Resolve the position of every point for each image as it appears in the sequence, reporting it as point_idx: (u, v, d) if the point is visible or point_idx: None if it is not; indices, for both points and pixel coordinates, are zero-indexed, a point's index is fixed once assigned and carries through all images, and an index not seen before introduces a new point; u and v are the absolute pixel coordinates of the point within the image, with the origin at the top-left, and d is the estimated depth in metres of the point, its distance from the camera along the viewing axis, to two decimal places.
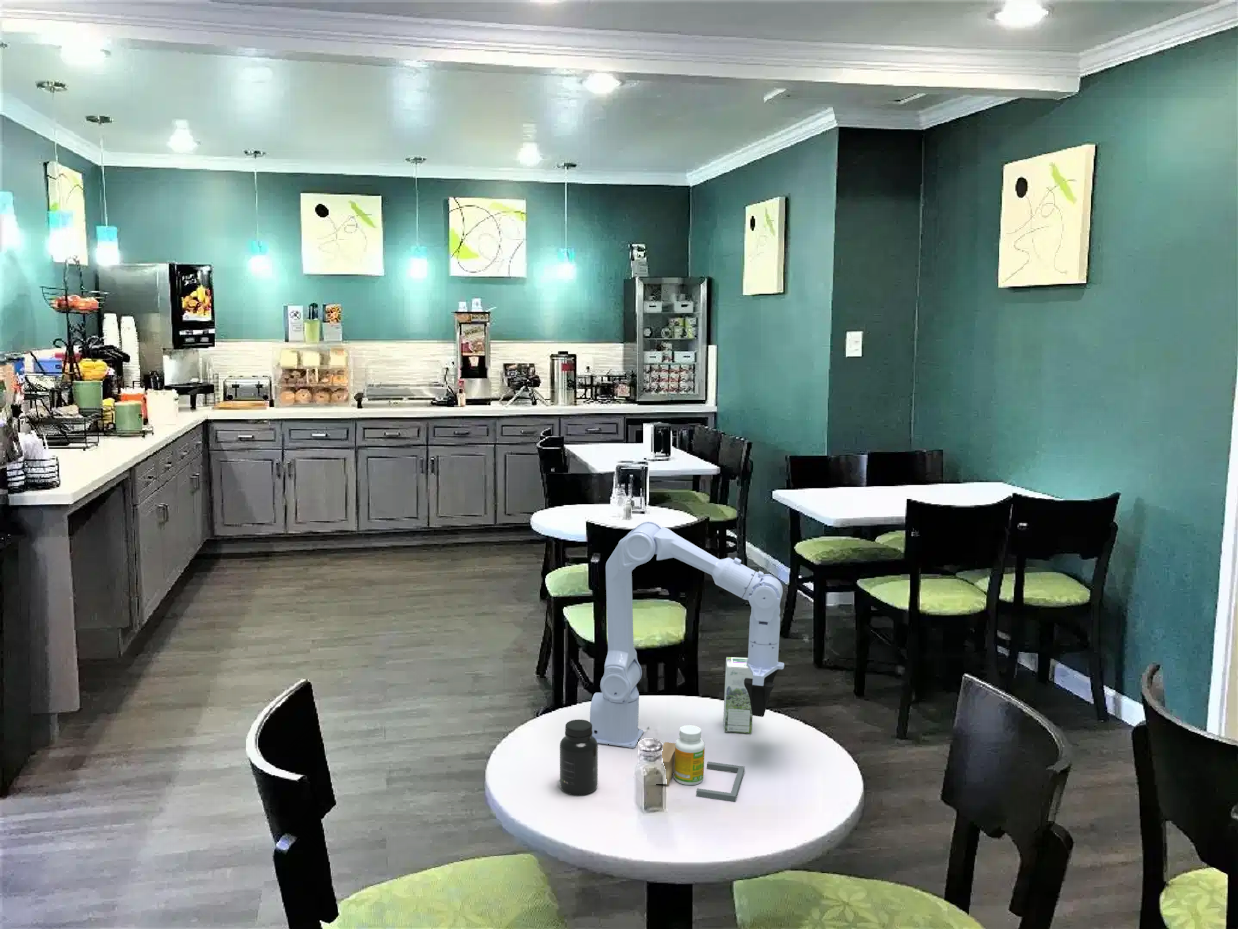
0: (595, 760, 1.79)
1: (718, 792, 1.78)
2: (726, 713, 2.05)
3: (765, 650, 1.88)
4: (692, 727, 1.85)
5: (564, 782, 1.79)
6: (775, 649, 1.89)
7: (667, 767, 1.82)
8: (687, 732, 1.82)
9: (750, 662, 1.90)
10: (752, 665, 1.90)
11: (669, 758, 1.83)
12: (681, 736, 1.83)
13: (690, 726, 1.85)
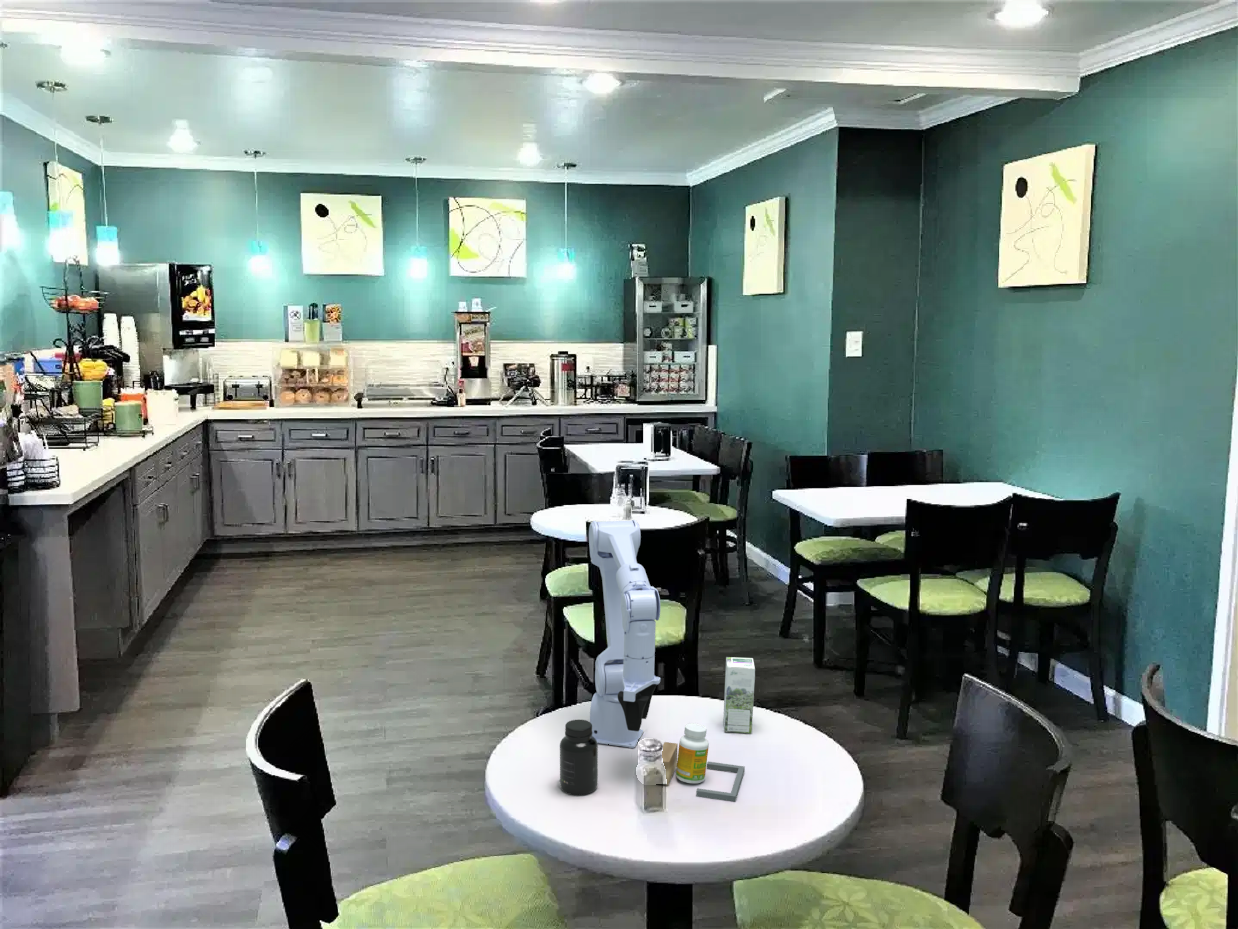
0: (595, 760, 1.79)
1: (718, 792, 1.78)
2: (726, 713, 2.05)
3: (639, 664, 1.81)
4: (698, 725, 1.85)
5: (564, 782, 1.79)
6: (650, 663, 1.82)
7: (667, 767, 1.82)
8: (691, 729, 1.83)
9: (624, 677, 1.83)
10: (626, 680, 1.83)
11: (669, 758, 1.83)
12: (685, 732, 1.83)
13: (696, 725, 1.85)
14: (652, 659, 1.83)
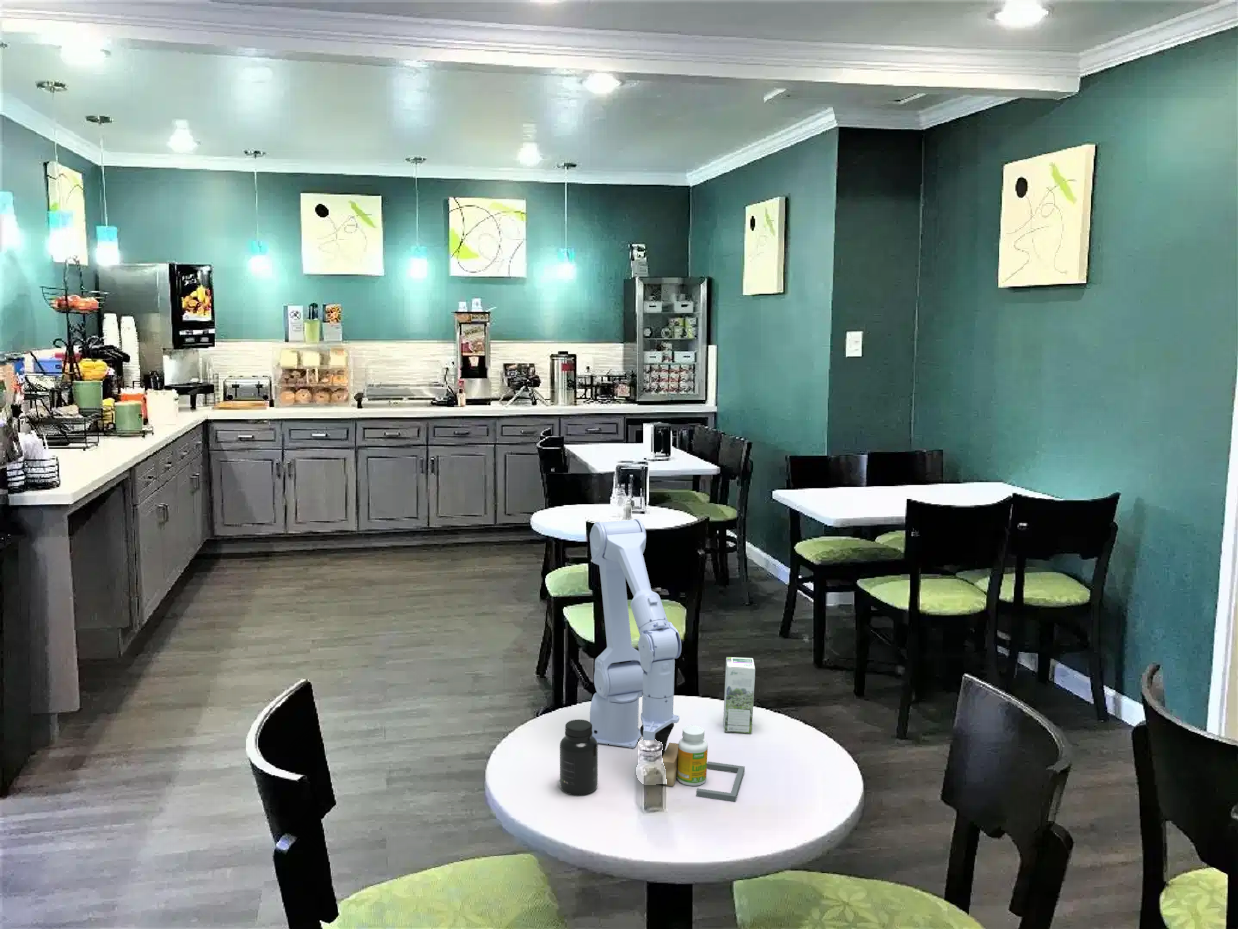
0: (595, 760, 1.79)
1: (718, 792, 1.78)
2: (726, 713, 2.05)
3: (658, 704, 1.82)
4: (696, 728, 1.84)
5: (564, 782, 1.79)
6: (669, 702, 1.82)
7: (672, 768, 1.81)
8: (688, 732, 1.82)
9: (643, 715, 1.84)
10: (645, 719, 1.83)
11: (674, 759, 1.83)
12: (683, 735, 1.83)
13: (695, 727, 1.85)
14: (671, 698, 1.83)
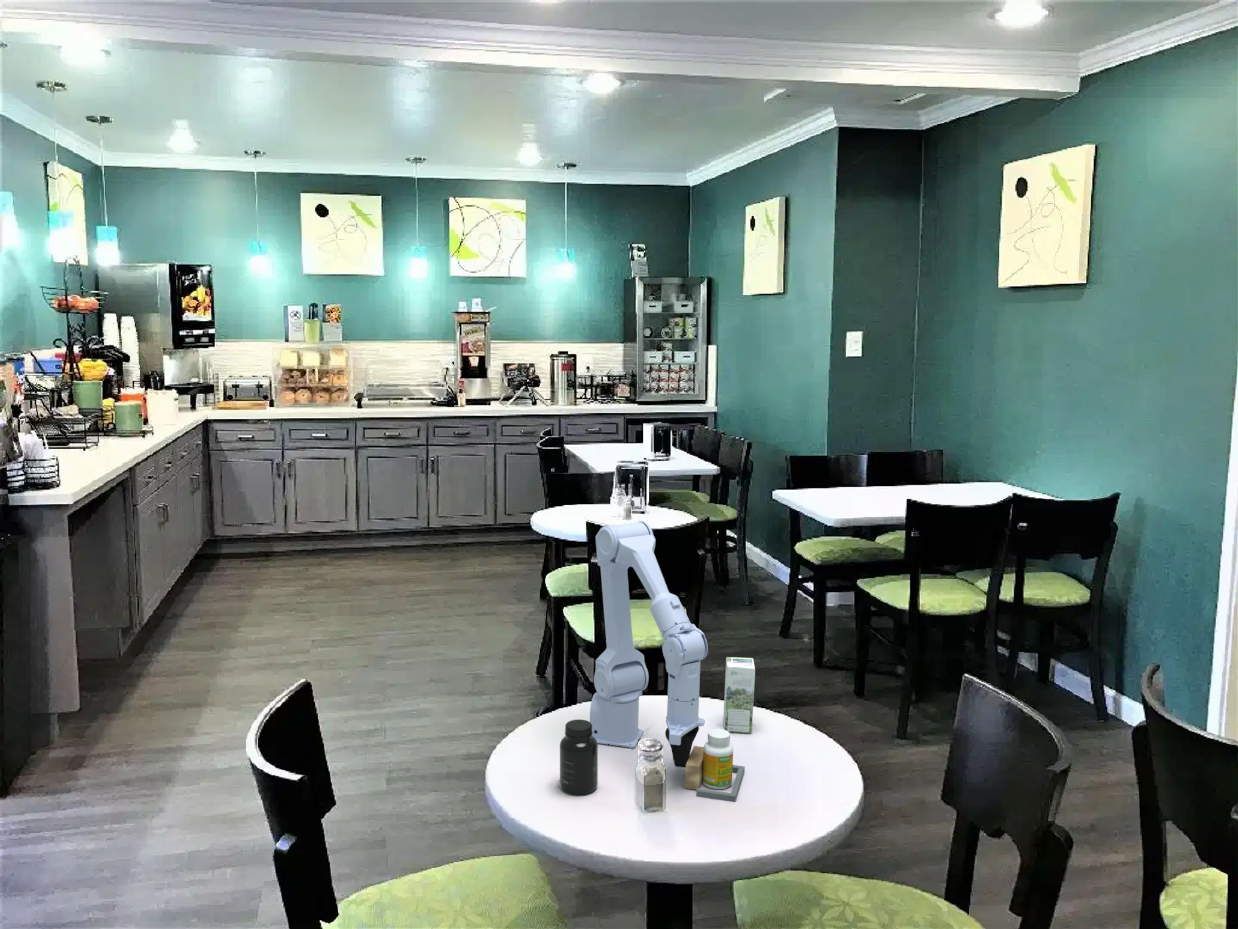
0: (595, 760, 1.79)
1: (718, 792, 1.78)
2: (726, 713, 2.05)
3: (683, 707, 1.80)
4: (721, 731, 1.83)
5: (564, 782, 1.79)
6: (695, 705, 1.81)
7: (697, 771, 1.80)
8: (714, 735, 1.81)
9: (669, 719, 1.82)
10: (671, 722, 1.82)
11: (699, 762, 1.82)
12: (708, 739, 1.82)
13: (720, 730, 1.84)
14: (697, 701, 1.82)
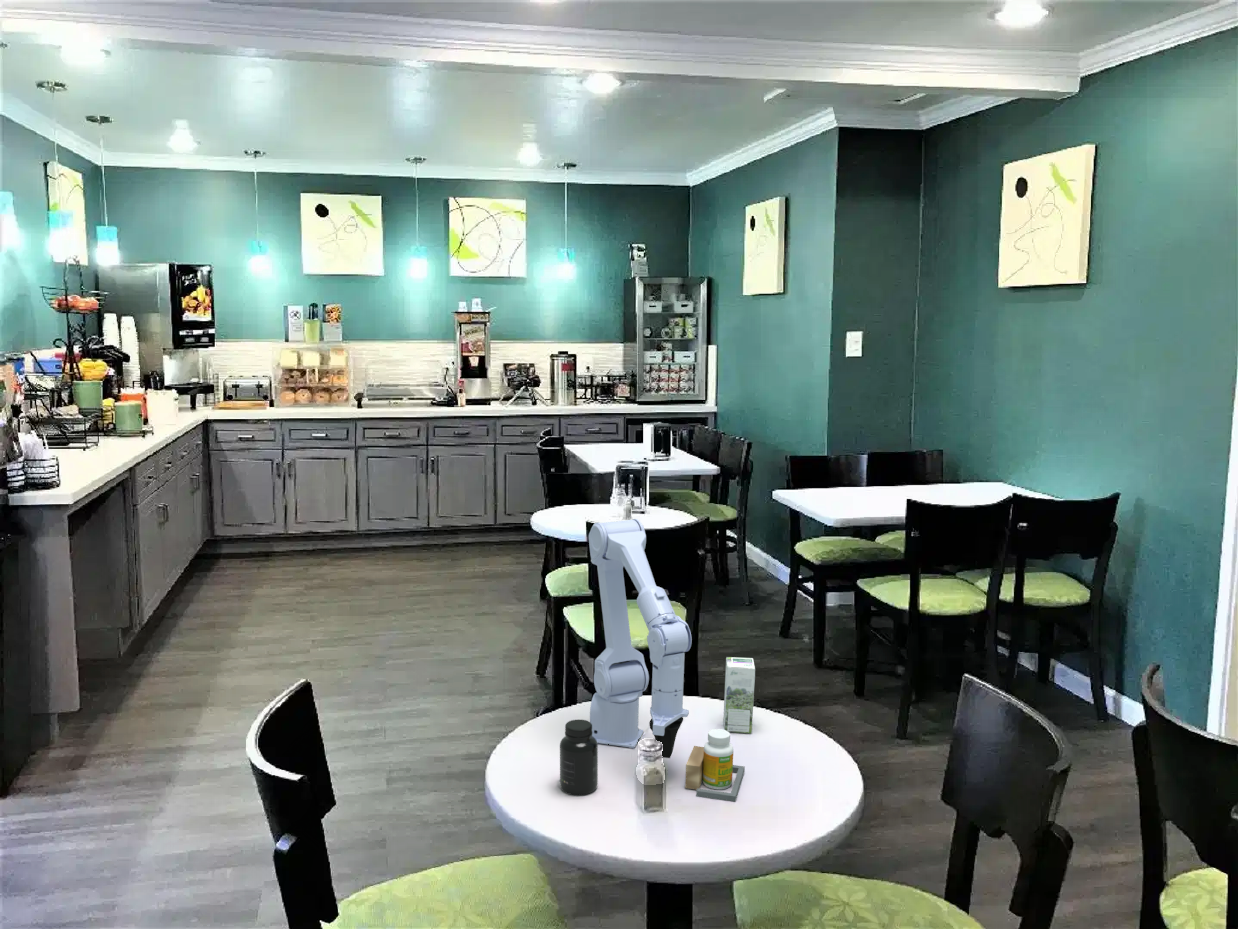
0: (595, 760, 1.79)
1: (718, 792, 1.78)
2: (726, 713, 2.05)
3: (667, 698, 1.81)
4: (722, 731, 1.83)
5: (564, 782, 1.79)
6: (679, 696, 1.82)
7: (698, 771, 1.80)
8: (714, 736, 1.81)
9: (653, 709, 1.83)
10: (655, 713, 1.82)
11: (699, 762, 1.82)
12: (708, 739, 1.82)
13: (720, 730, 1.84)
14: (681, 692, 1.82)
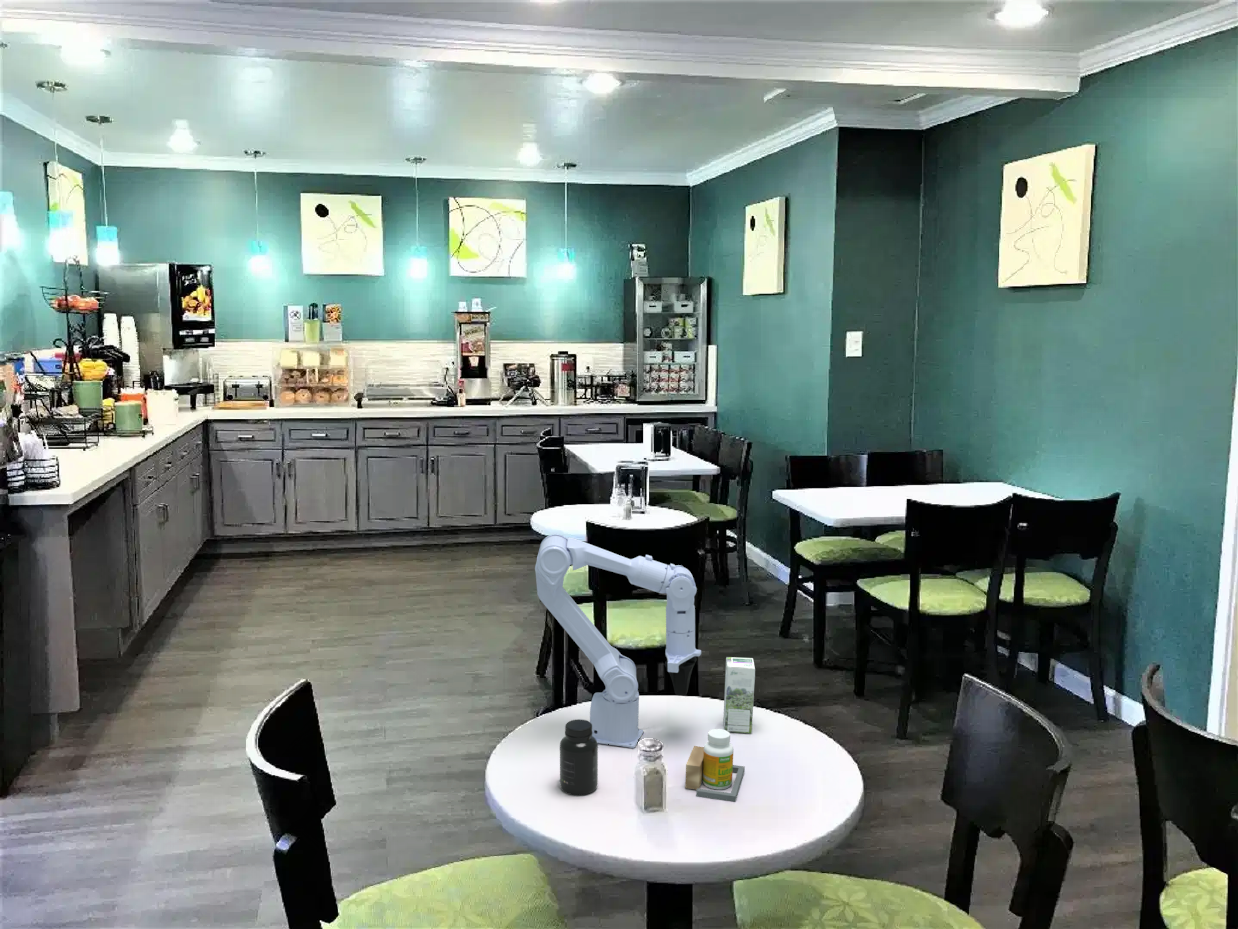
0: (595, 760, 1.79)
1: (718, 792, 1.78)
2: (726, 713, 2.05)
3: (680, 638, 1.96)
4: (722, 731, 1.83)
5: (564, 782, 1.79)
6: (691, 637, 1.96)
7: (698, 771, 1.80)
8: (714, 736, 1.81)
9: (668, 650, 1.98)
10: (669, 653, 1.97)
11: (699, 762, 1.82)
12: (708, 739, 1.82)
13: (720, 730, 1.84)
14: (693, 633, 1.97)
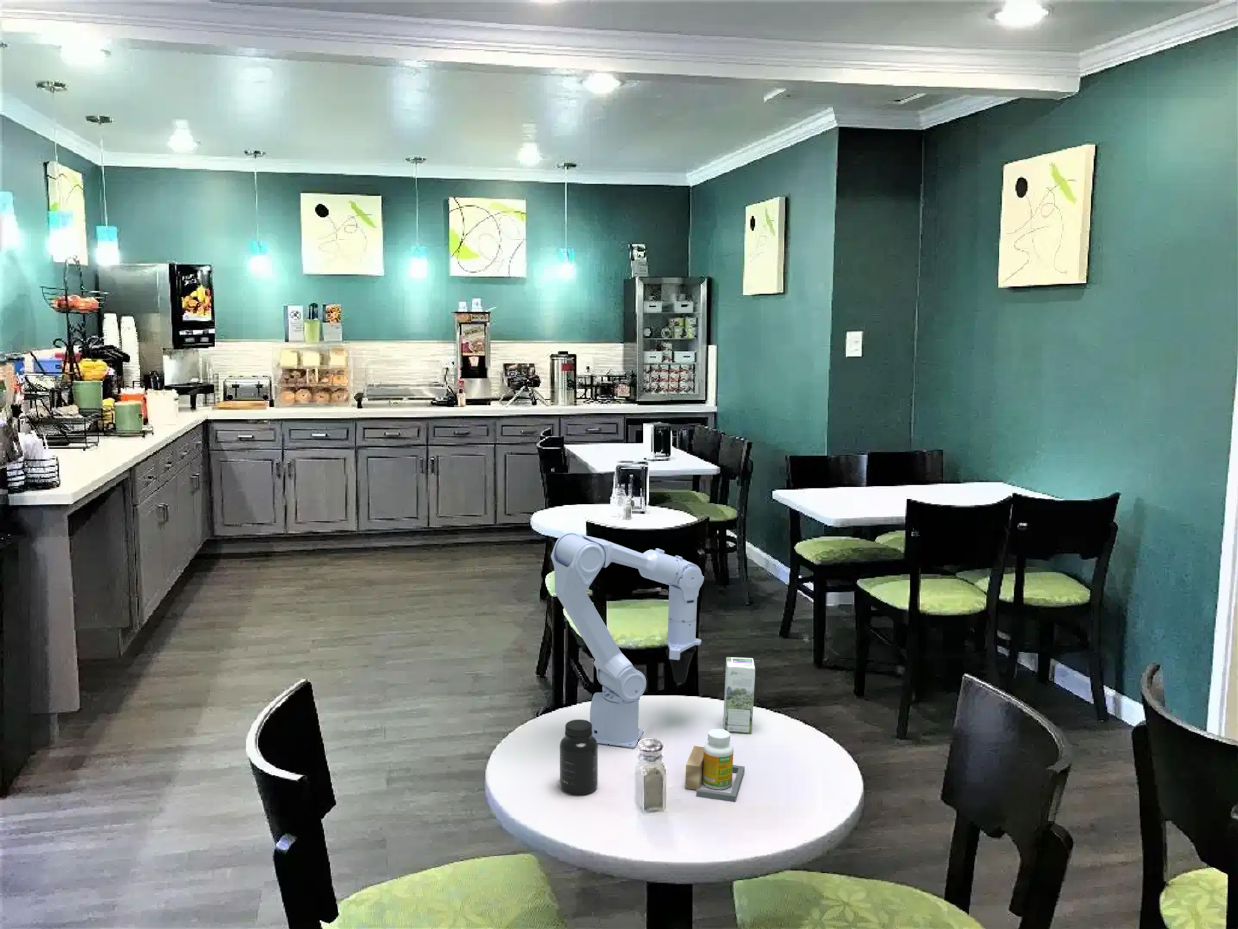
0: (595, 760, 1.79)
1: (718, 792, 1.78)
2: (726, 713, 2.05)
3: (682, 627, 2.02)
4: (722, 731, 1.83)
5: (564, 782, 1.79)
6: (692, 626, 2.03)
7: (698, 771, 1.80)
8: (714, 736, 1.81)
9: (669, 638, 2.04)
10: (671, 641, 2.04)
11: (699, 762, 1.82)
12: (708, 739, 1.82)
13: (720, 730, 1.84)
14: (694, 622, 2.04)
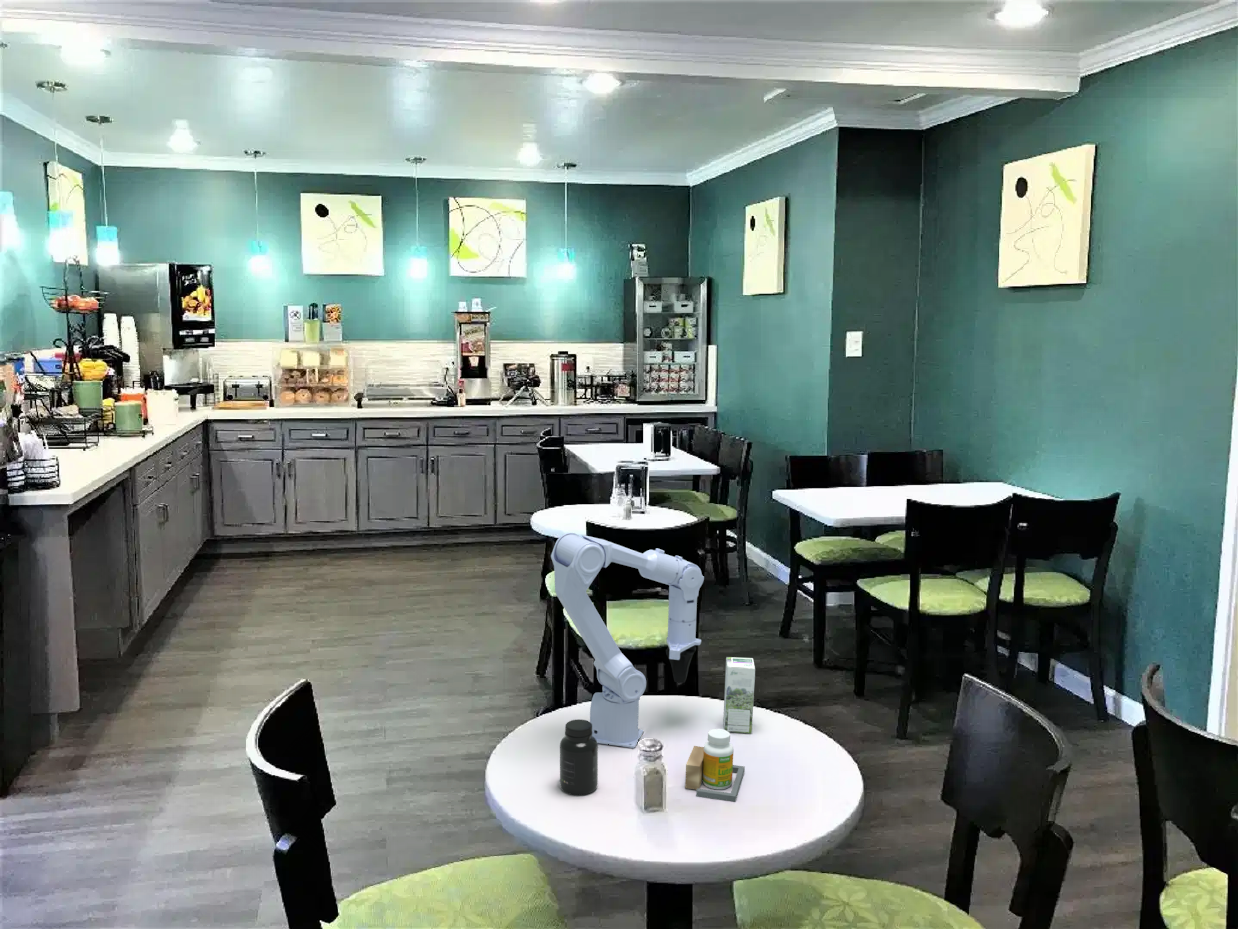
0: (595, 760, 1.79)
1: (718, 792, 1.78)
2: (726, 713, 2.05)
3: (682, 627, 2.02)
4: (722, 731, 1.83)
5: (564, 782, 1.79)
6: (692, 626, 2.03)
7: (698, 771, 1.80)
8: (714, 736, 1.81)
9: (669, 638, 2.04)
10: (671, 641, 2.04)
11: (699, 762, 1.82)
12: (708, 739, 1.82)
13: (720, 730, 1.84)
14: (694, 622, 2.04)
